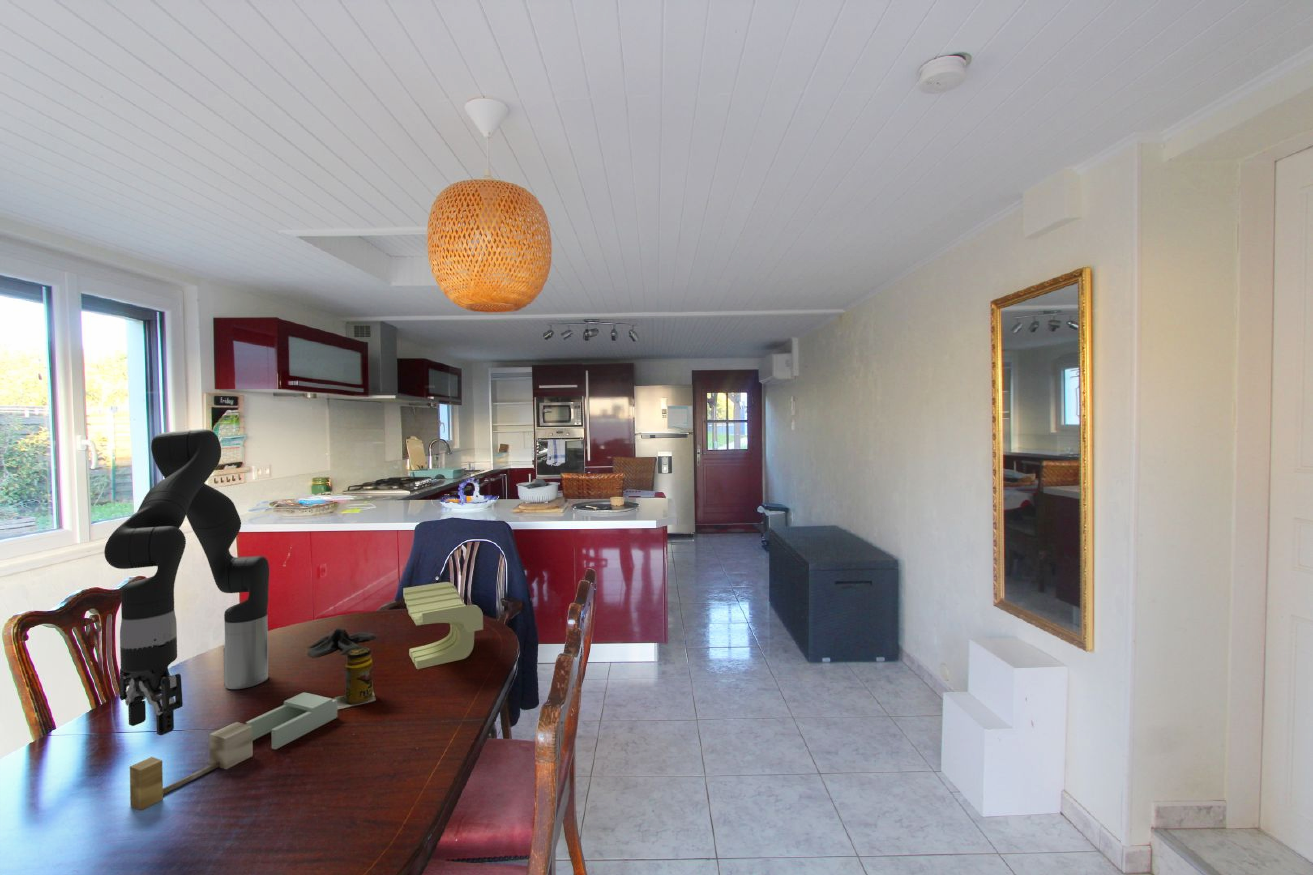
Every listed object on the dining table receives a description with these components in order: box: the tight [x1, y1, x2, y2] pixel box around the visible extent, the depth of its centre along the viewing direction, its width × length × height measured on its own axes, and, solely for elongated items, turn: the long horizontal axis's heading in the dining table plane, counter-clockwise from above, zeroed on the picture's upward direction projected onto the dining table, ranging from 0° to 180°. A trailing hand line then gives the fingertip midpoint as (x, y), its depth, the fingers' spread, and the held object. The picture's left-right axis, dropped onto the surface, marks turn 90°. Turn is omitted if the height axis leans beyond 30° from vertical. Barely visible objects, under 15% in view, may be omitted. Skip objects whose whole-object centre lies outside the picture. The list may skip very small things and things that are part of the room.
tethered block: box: [129, 721, 254, 811], centre depth 106 cm, size 5×18×7 cm, turn 158°
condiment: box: [333, 646, 377, 711], centre depth 138 cm, size 7×8×12 cm
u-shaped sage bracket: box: [245, 691, 338, 750], centre depth 124 cm, size 9×14×5 cm, turn 158°
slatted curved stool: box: [403, 581, 484, 670], centre depth 165 cm, size 30×16×18 cm, turn 33°
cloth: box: [307, 627, 379, 659], centre depth 174 cm, size 22×19×6 cm
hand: (151, 728), depth 100 cm, fingers open, 8 cm apart
